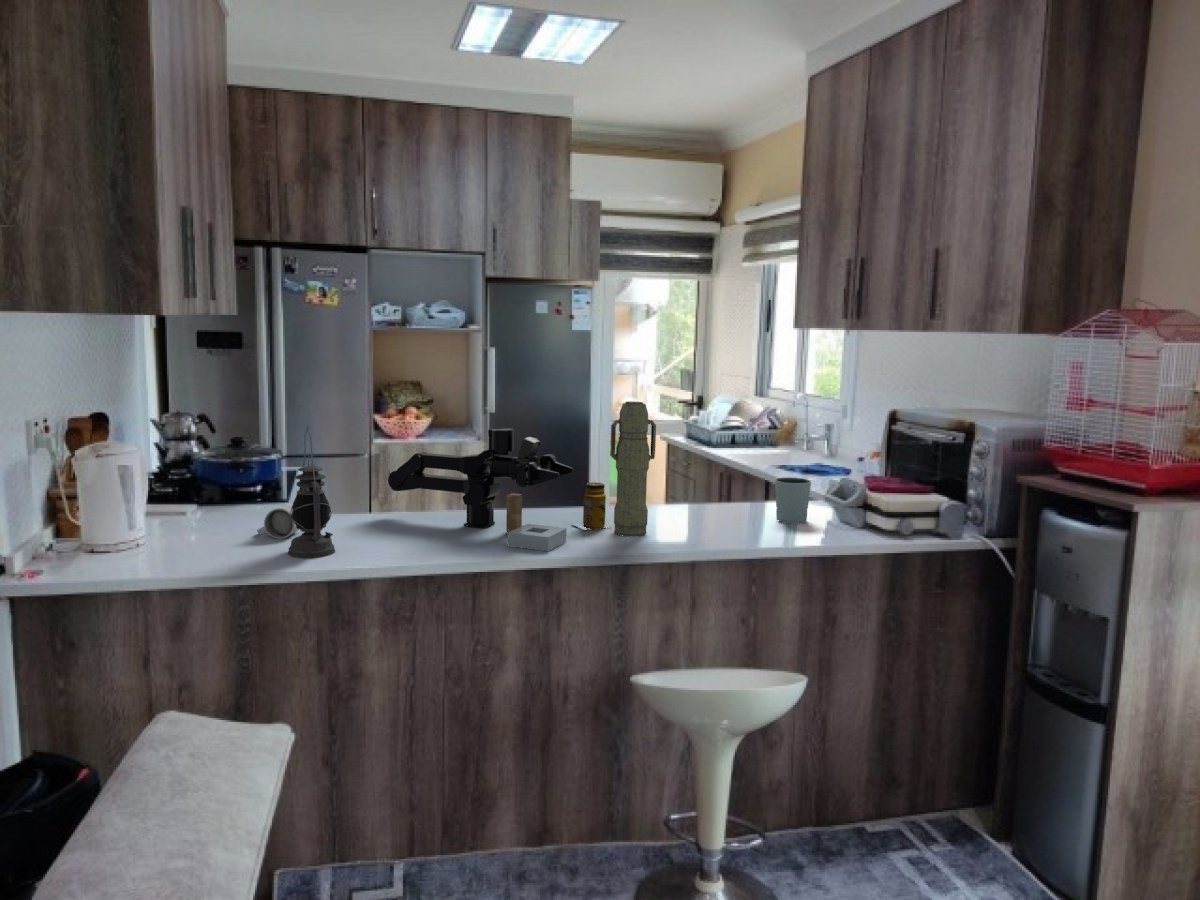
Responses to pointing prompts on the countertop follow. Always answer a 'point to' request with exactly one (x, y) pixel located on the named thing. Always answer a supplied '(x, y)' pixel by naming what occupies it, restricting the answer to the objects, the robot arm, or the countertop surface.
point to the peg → (514, 512)
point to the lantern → (311, 513)
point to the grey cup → (792, 499)
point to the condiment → (594, 506)
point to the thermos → (632, 468)
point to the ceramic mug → (279, 523)
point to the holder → (537, 537)
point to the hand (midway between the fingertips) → (566, 472)
